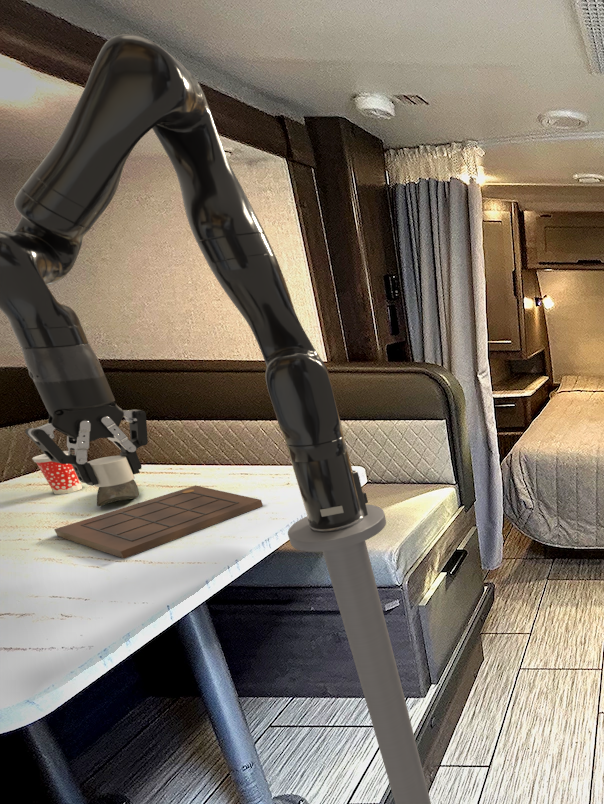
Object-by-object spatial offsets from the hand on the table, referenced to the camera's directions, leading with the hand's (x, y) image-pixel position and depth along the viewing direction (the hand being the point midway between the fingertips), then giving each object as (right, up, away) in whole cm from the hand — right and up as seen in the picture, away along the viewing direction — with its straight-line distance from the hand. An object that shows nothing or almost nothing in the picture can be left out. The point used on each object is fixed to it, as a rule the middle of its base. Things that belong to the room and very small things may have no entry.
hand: (114, 478), depth 83 cm
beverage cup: (-50, -3, +37) cm, 62 cm away
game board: (-11, -9, +20) cm, 25 cm away
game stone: (0, -1, 0) cm, 1 cm away
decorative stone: (-33, -5, +32) cm, 46 cm away
